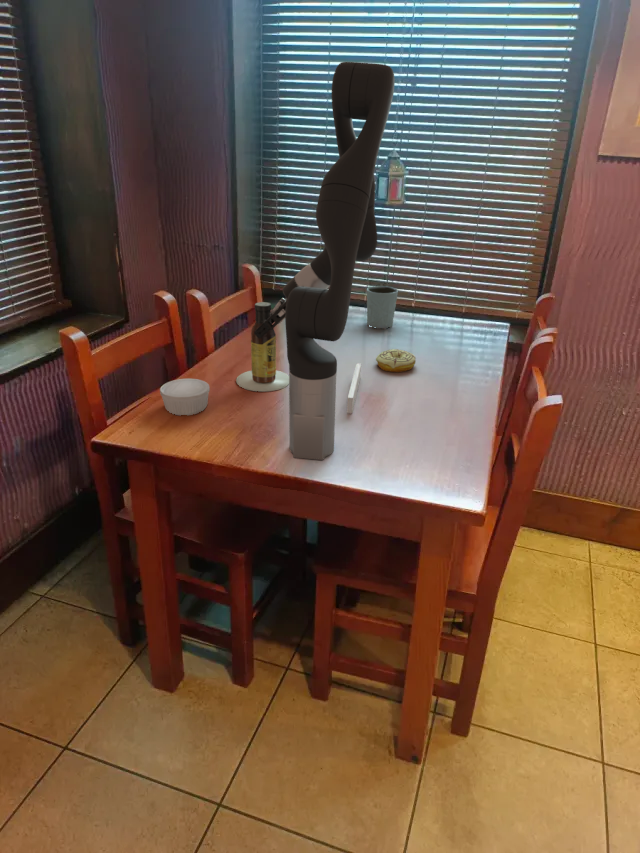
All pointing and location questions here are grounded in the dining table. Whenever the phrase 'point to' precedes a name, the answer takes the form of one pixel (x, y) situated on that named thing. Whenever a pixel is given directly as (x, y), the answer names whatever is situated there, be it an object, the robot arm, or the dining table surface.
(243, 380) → the sage pad
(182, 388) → the ramekin
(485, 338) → the dining table surface
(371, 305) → the grey tapered cup
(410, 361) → the decorated donut
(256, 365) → the sauce bottle
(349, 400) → the frosted wall
